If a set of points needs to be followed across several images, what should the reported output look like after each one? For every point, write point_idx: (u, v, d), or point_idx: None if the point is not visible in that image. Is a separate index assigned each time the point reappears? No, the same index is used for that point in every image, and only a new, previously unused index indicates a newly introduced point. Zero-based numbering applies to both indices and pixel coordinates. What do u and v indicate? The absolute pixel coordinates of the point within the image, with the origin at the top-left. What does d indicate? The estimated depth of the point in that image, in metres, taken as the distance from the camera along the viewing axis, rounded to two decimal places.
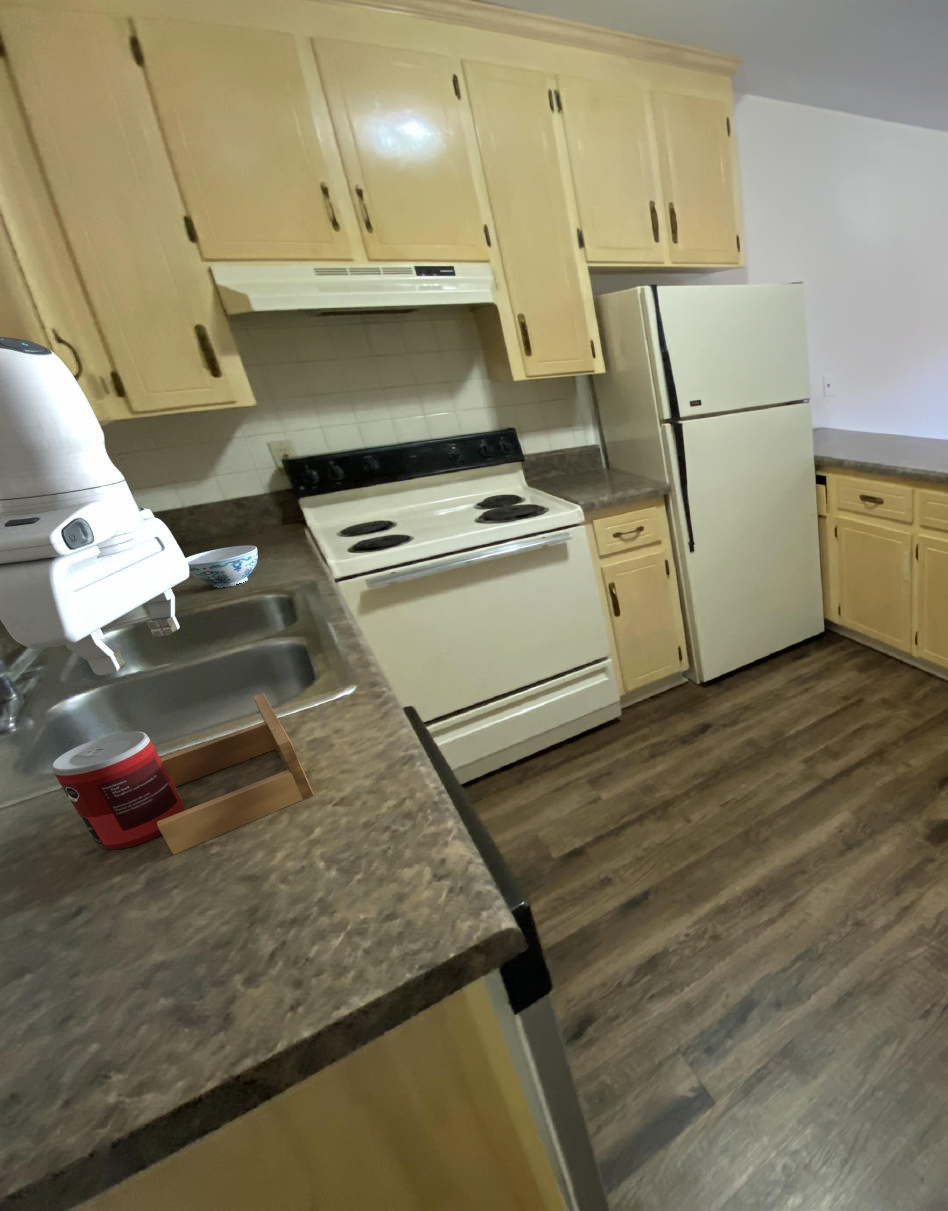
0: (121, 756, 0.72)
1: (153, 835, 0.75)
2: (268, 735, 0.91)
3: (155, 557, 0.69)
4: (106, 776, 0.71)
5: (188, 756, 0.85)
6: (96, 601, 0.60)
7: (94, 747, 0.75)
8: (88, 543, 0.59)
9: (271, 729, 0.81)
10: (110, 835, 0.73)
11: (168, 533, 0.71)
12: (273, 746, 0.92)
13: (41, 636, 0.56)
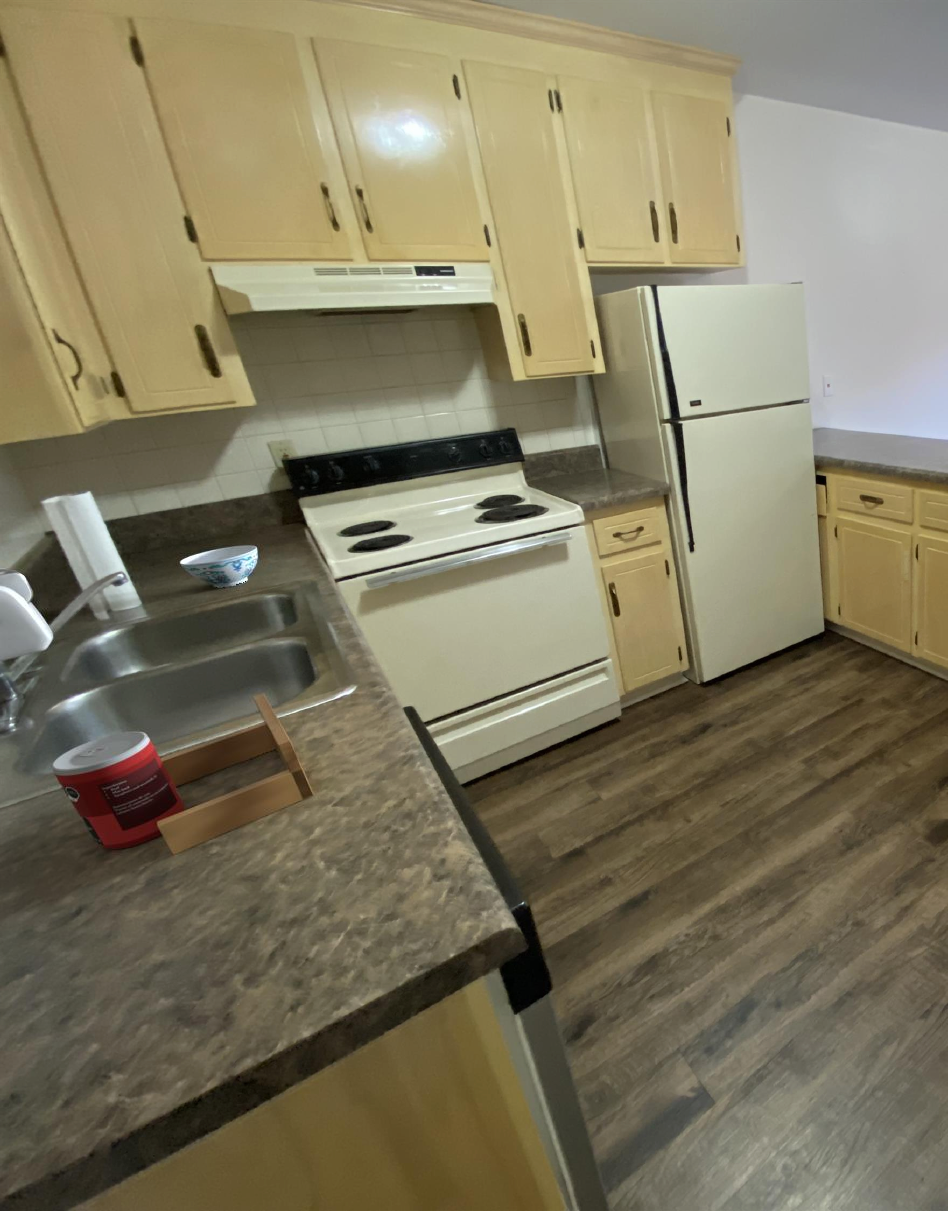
0: (121, 756, 0.72)
1: (153, 835, 0.75)
2: (268, 735, 0.91)
3: None
4: (106, 776, 0.71)
5: (188, 756, 0.85)
6: None
7: (94, 747, 0.75)
8: None
9: (271, 729, 0.81)
10: (110, 835, 0.73)
11: (8, 604, 0.65)
12: (273, 746, 0.92)
13: None
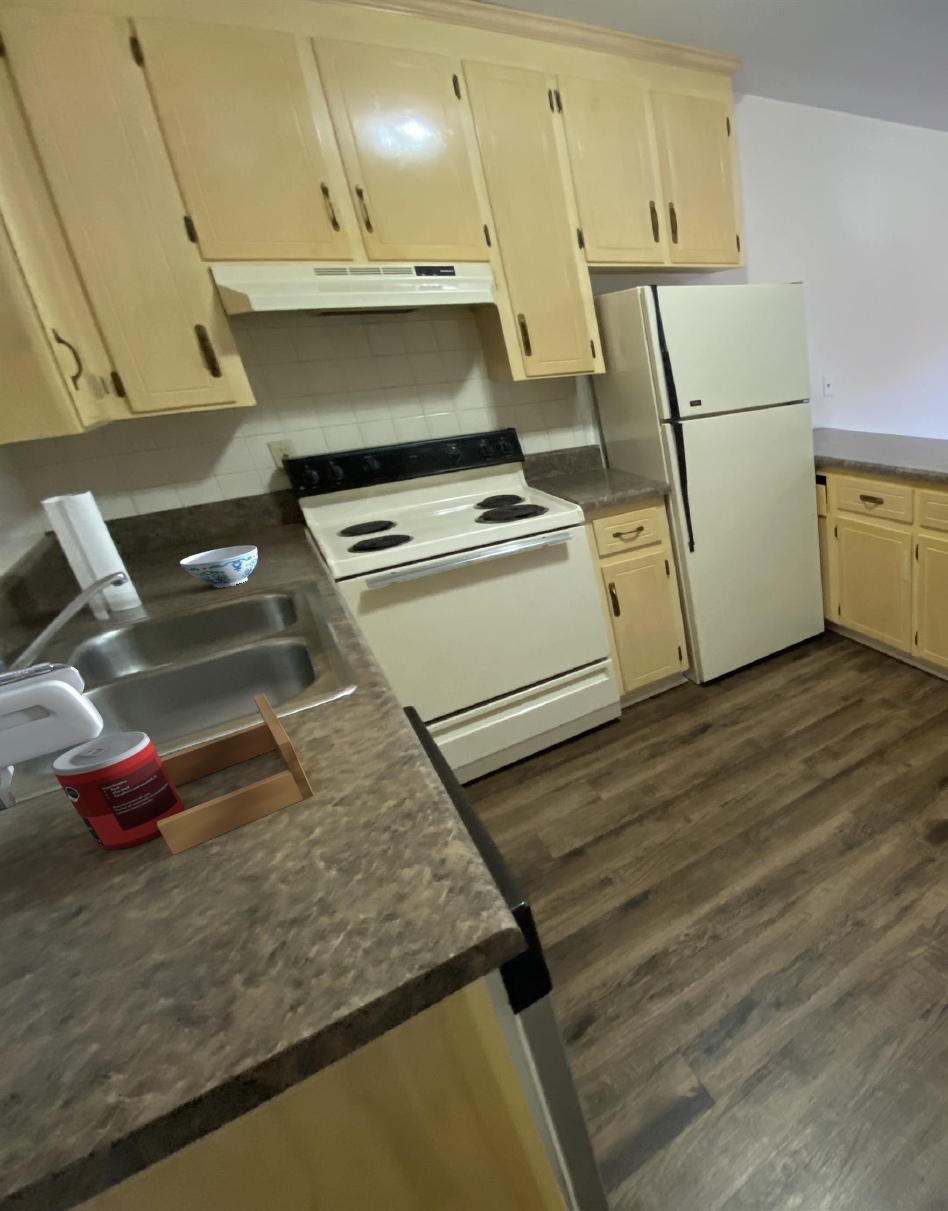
0: (121, 756, 0.72)
1: (153, 835, 0.75)
2: (268, 735, 0.91)
3: (22, 727, 0.67)
4: (106, 776, 0.71)
5: (188, 756, 0.85)
6: None
7: (94, 747, 0.75)
8: None
9: (271, 729, 0.81)
10: (110, 835, 0.73)
11: (63, 698, 0.69)
12: (273, 746, 0.92)
13: None
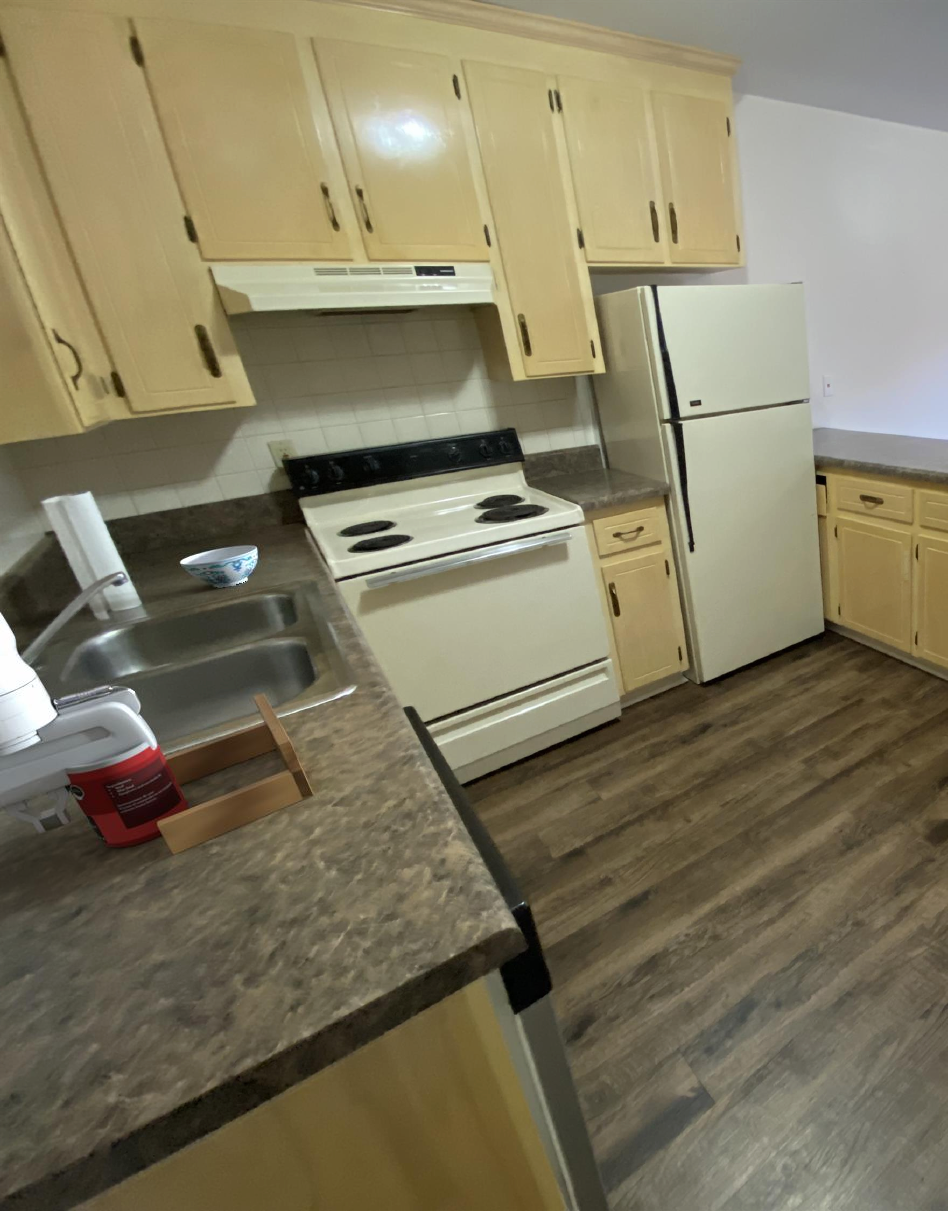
0: (126, 754, 0.72)
1: (157, 834, 0.76)
2: (268, 735, 0.91)
3: (83, 747, 0.71)
4: (111, 774, 0.72)
5: (188, 756, 0.85)
6: None
7: None
8: None
9: (271, 729, 0.81)
10: (114, 833, 0.73)
11: (122, 719, 0.73)
12: (273, 746, 0.92)
13: None
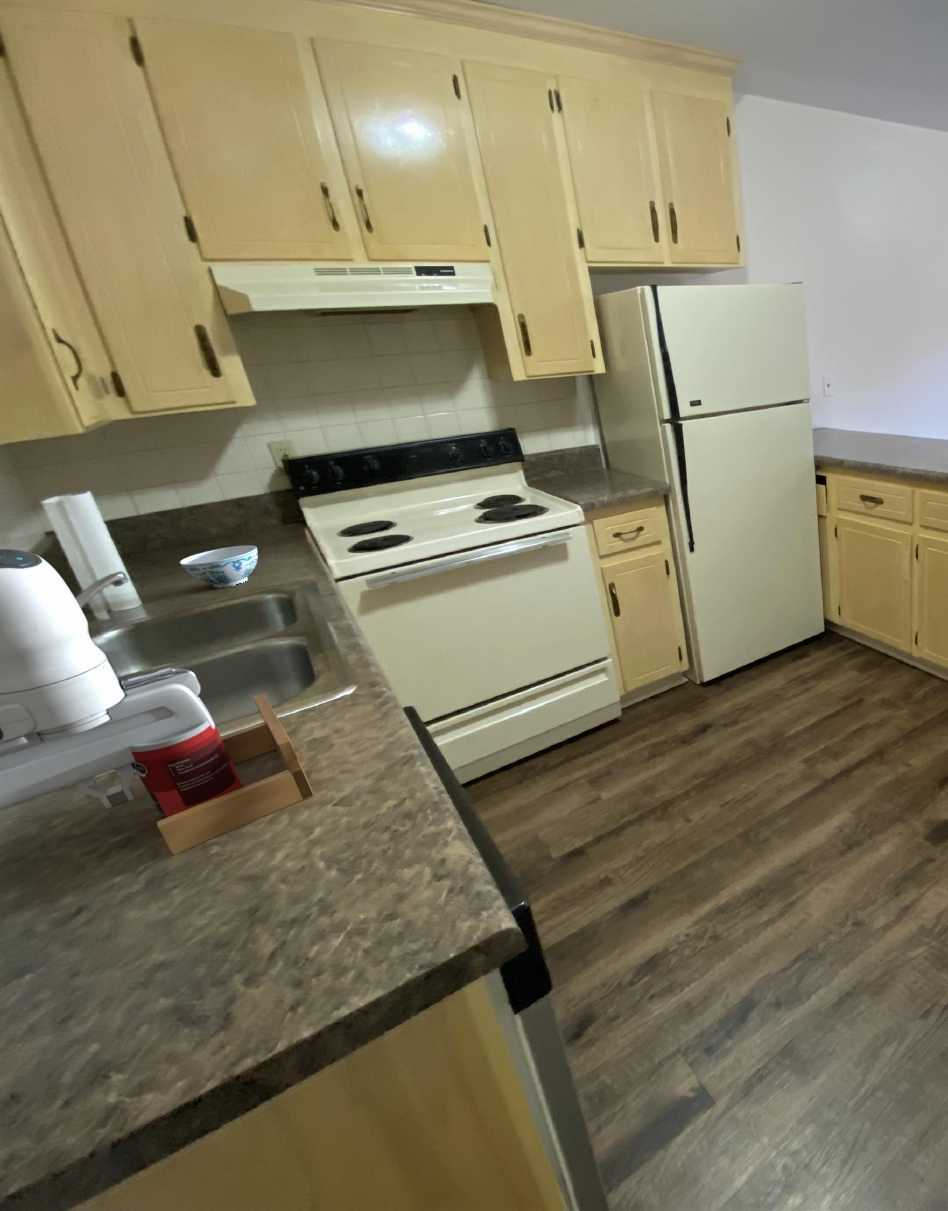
0: (185, 735, 0.75)
1: None
2: (268, 735, 0.91)
3: (149, 726, 0.74)
4: (171, 753, 0.75)
5: None
6: (21, 780, 0.68)
7: None
8: None
9: (271, 729, 0.81)
10: (173, 810, 0.77)
11: (184, 700, 0.76)
12: (273, 746, 0.92)
13: None
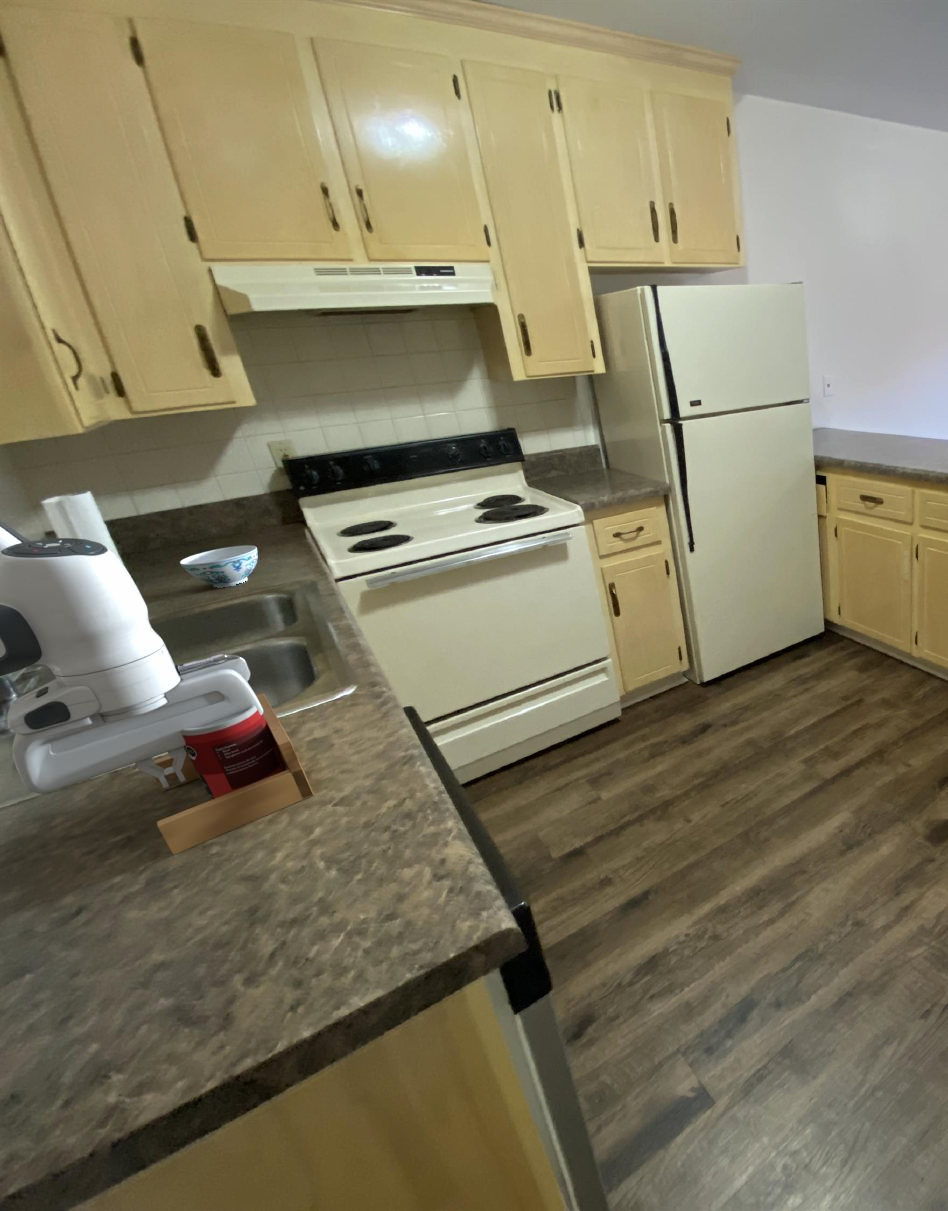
0: (232, 721, 0.78)
1: None
2: None
3: (203, 709, 0.77)
4: (219, 738, 0.77)
5: (188, 756, 0.85)
6: (84, 759, 0.71)
7: None
8: (60, 722, 0.68)
9: (271, 729, 0.81)
10: (221, 792, 0.79)
11: (236, 685, 0.79)
12: None
13: None
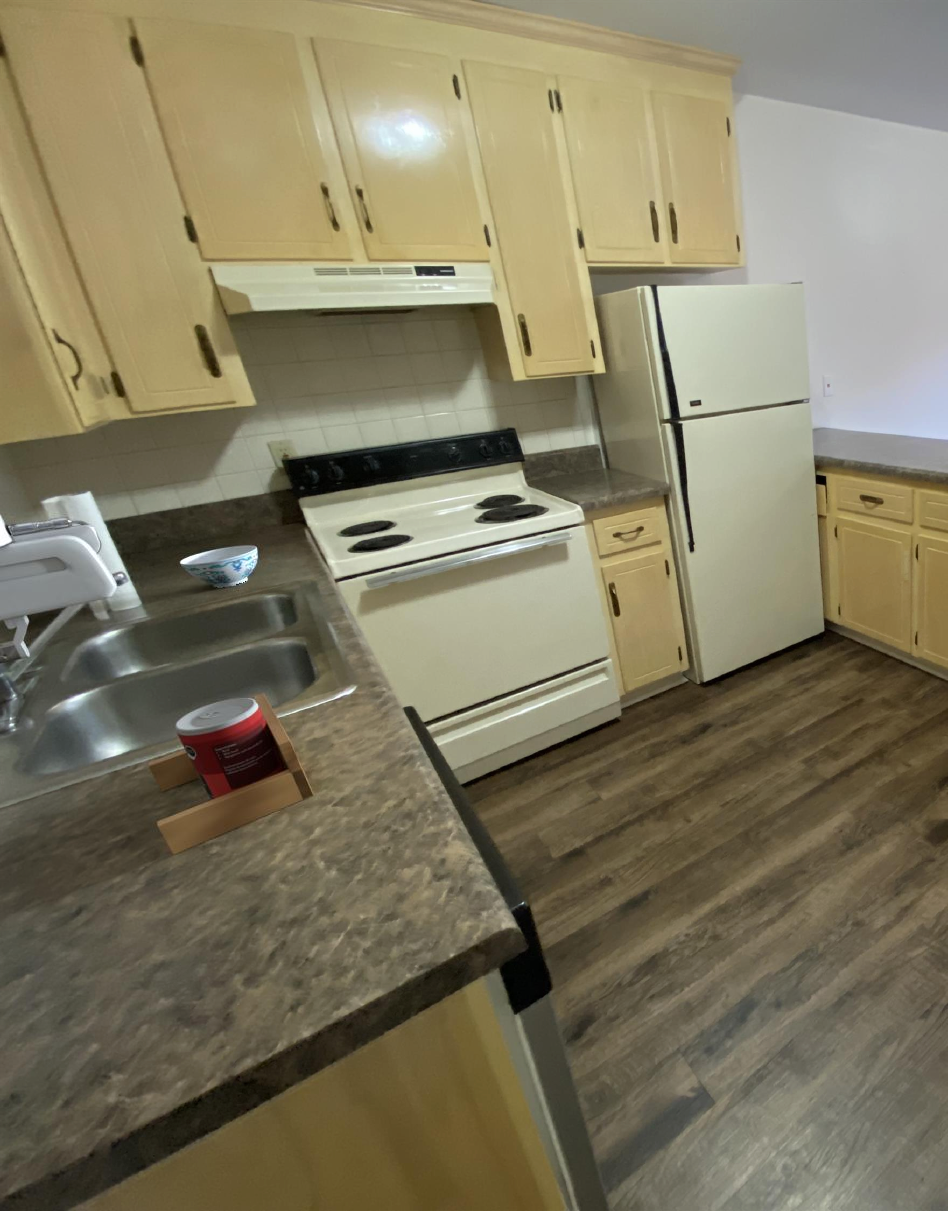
0: (232, 721, 0.78)
1: None
2: None
3: (39, 577, 0.69)
4: (219, 738, 0.77)
5: (188, 756, 0.85)
6: None
7: (212, 710, 0.81)
8: None
9: (271, 729, 0.81)
10: (220, 792, 0.79)
11: (80, 553, 0.71)
12: None
13: None
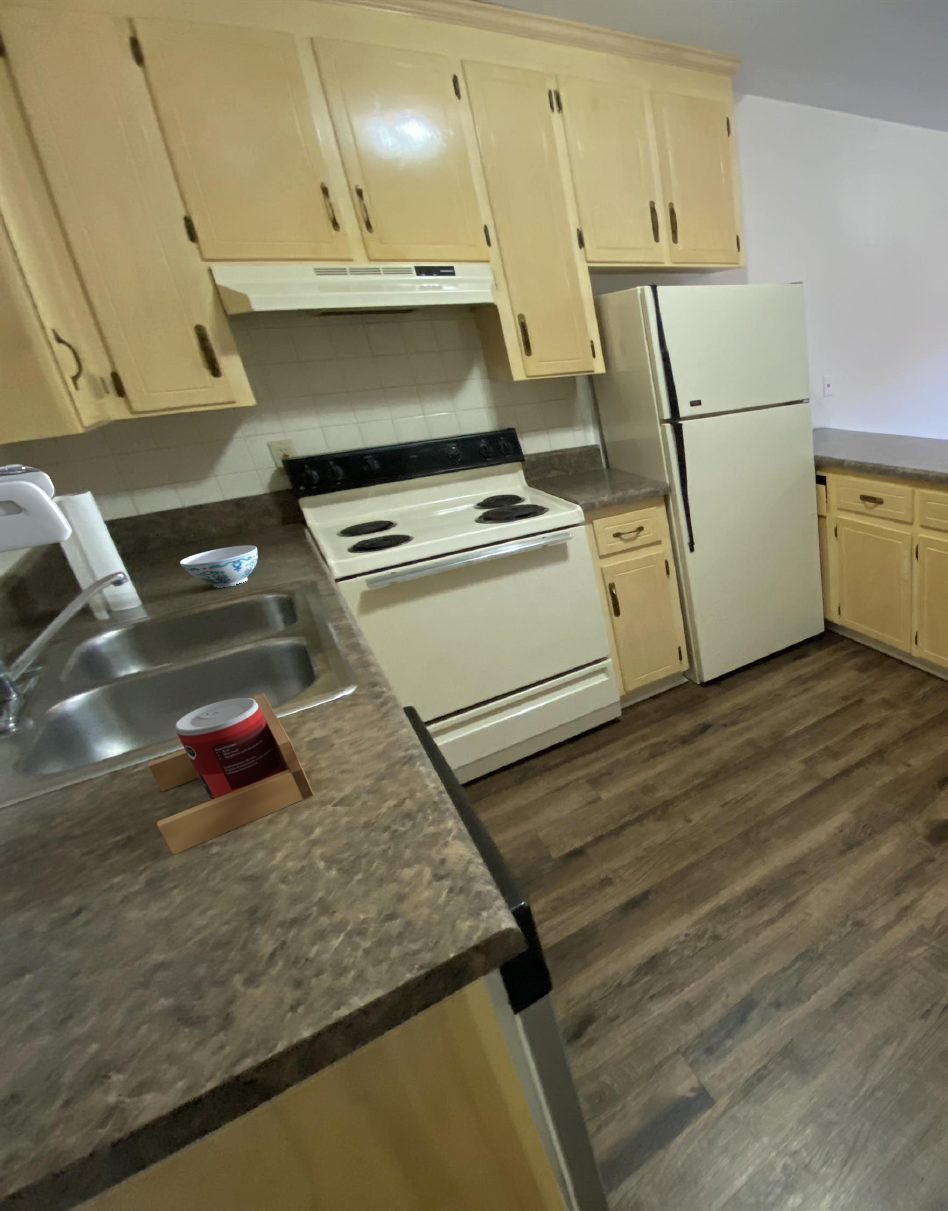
0: (232, 721, 0.78)
1: None
2: None
3: None
4: (219, 738, 0.77)
5: (188, 756, 0.85)
6: None
7: (212, 710, 0.81)
8: None
9: (271, 729, 0.81)
10: (220, 792, 0.79)
11: (34, 498, 0.75)
12: None
13: None
